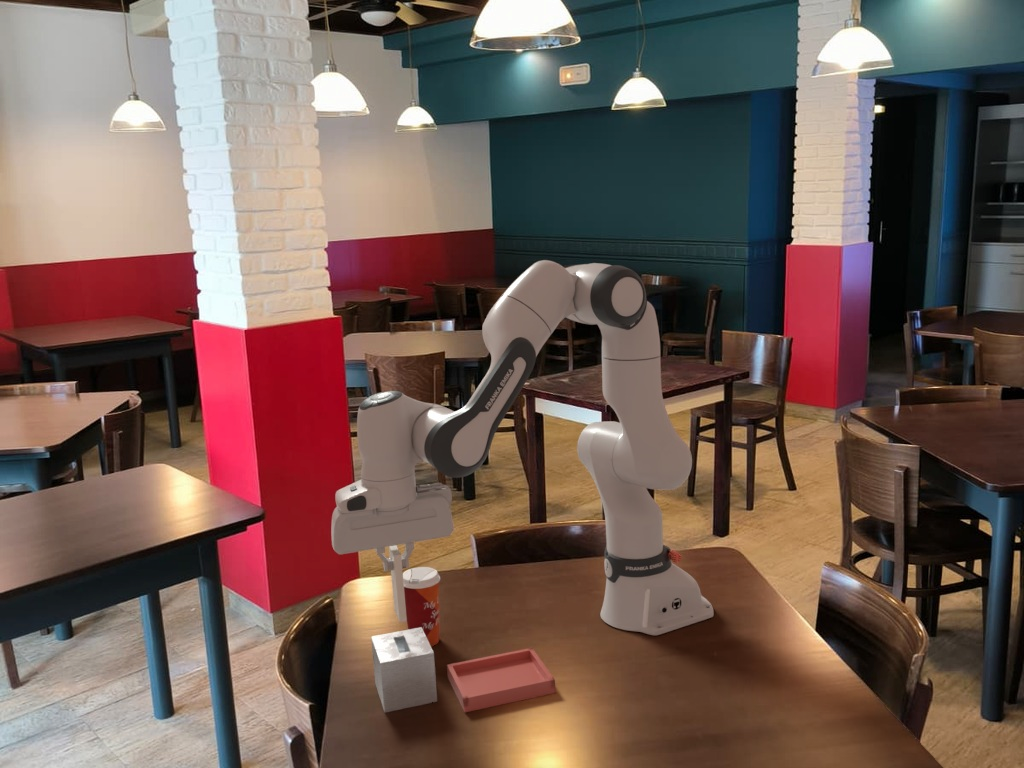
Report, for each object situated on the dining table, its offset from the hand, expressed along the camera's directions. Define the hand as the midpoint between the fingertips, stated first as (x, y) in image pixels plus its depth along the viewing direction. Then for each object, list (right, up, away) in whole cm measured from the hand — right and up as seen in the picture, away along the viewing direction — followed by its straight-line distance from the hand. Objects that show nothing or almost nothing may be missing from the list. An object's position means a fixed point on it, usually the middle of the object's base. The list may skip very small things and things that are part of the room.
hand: (396, 568), depth 150 cm
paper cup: (+3, -19, +22) cm, 29 cm away
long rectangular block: (+1, -8, +2) cm, 9 cm away
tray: (+17, -21, +5) cm, 28 cm away
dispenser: (+1, -22, +4) cm, 23 cm away
